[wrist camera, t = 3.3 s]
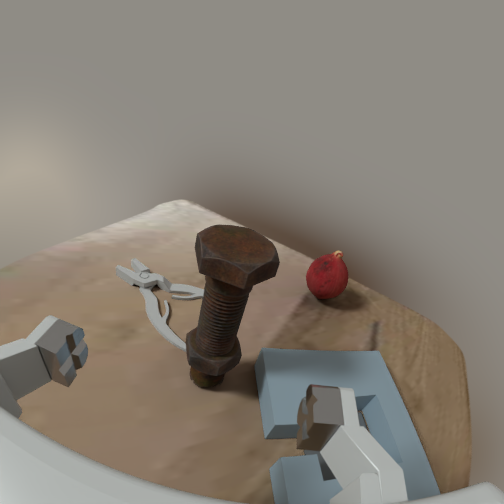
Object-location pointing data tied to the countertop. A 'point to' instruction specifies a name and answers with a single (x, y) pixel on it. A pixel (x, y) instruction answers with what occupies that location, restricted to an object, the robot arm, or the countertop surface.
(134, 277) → the pliers
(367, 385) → the pocket frame
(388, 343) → the countertop surface
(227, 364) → the bolt
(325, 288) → the onion
